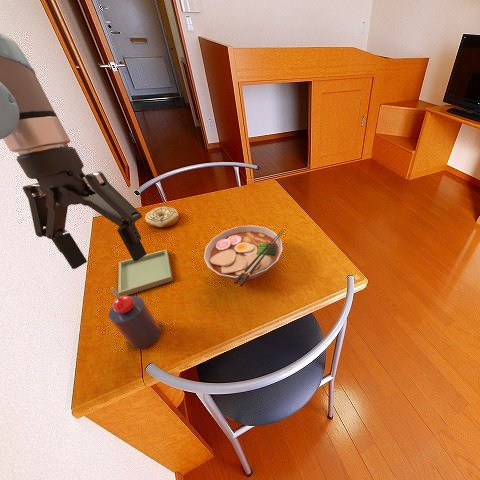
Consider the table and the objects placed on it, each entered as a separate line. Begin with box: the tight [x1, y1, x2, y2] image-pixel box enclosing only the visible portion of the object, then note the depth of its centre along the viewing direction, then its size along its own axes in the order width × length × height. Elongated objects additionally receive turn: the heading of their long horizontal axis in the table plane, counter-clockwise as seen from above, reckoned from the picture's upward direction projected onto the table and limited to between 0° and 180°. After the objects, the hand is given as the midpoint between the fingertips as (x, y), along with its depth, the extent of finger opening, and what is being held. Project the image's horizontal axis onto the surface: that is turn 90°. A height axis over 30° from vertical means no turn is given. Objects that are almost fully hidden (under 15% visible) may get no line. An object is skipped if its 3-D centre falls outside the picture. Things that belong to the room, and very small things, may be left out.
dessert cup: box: [108, 286, 162, 350], centre depth 62 cm, size 7×7×18 cm
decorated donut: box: [144, 206, 179, 229], centre depth 101 cm, size 10×11×4 cm
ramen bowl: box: [203, 224, 285, 287], centre depth 84 cm, size 25×23×8 cm
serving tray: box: [117, 249, 174, 296], centre depth 82 cm, size 13×13×2 cm
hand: (109, 261), depth 54 cm, fingers open, 13 cm apart
